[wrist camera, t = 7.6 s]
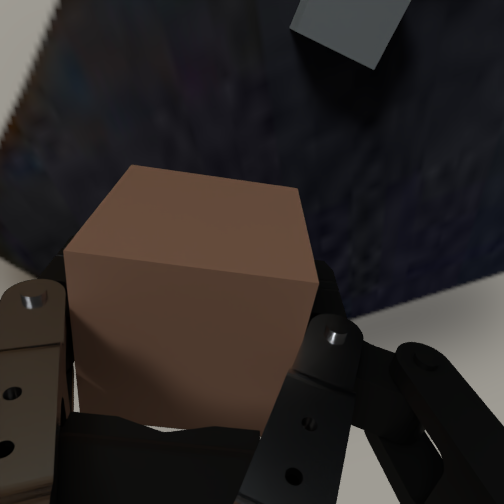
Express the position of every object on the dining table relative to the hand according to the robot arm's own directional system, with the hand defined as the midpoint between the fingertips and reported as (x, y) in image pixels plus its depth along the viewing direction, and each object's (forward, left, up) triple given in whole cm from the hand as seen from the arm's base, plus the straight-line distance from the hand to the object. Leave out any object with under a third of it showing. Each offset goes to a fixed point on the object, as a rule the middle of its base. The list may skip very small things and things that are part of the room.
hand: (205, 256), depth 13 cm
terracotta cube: (0, 0, 0) cm, 0 cm away
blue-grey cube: (-6, -8, -19) cm, 22 cm away
